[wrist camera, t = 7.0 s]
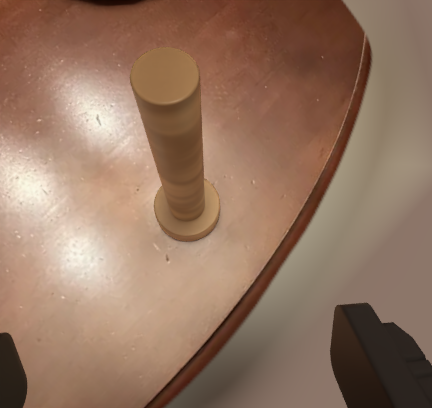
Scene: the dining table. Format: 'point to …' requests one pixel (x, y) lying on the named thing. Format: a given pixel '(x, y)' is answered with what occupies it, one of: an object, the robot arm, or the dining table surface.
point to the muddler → (176, 141)
